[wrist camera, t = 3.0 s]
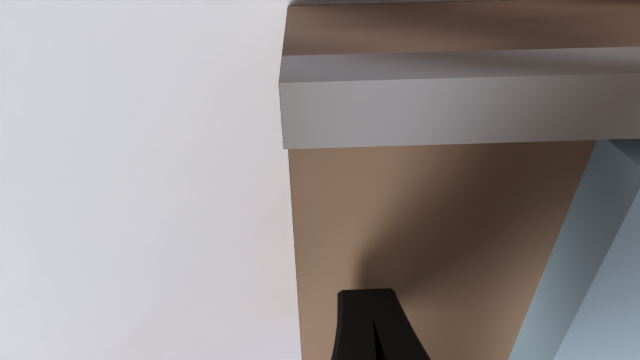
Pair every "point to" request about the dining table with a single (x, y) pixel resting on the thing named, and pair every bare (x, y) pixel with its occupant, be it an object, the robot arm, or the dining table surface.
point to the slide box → (445, 154)
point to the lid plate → (592, 268)
